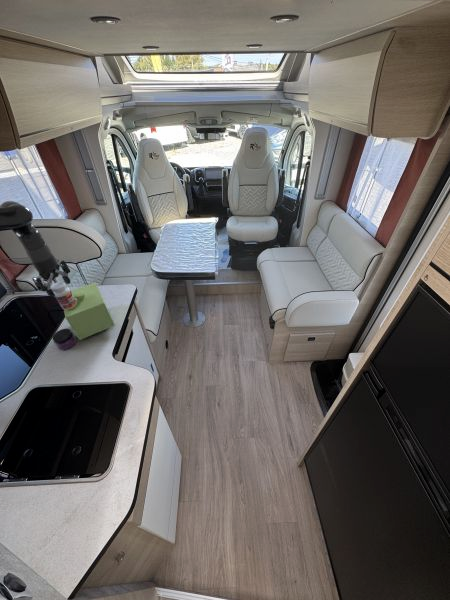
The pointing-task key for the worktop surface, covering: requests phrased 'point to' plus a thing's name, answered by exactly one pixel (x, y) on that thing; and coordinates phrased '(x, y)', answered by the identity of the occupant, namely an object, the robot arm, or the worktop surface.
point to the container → (88, 312)
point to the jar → (67, 343)
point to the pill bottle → (63, 295)
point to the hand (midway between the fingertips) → (60, 289)
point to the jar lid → (62, 336)
